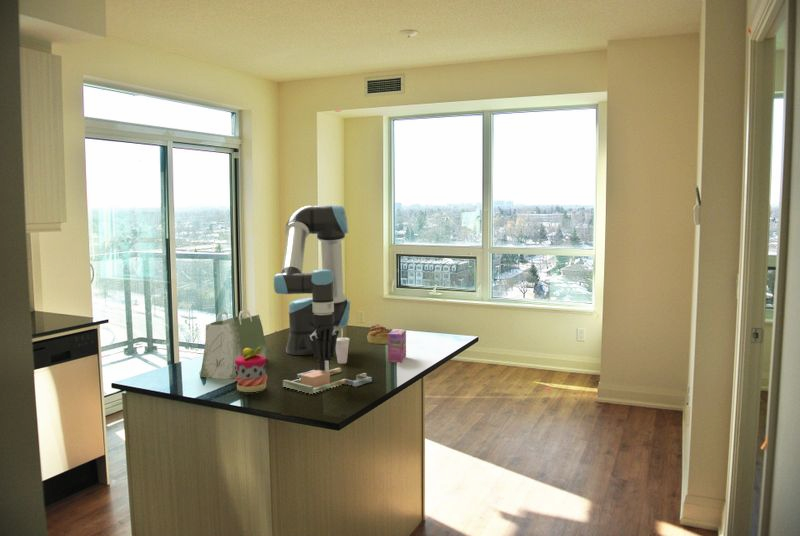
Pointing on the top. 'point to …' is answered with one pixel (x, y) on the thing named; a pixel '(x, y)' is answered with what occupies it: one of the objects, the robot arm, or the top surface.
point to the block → (315, 378)
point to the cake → (251, 371)
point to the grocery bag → (230, 344)
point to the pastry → (378, 334)
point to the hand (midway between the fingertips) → (325, 378)
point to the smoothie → (342, 348)
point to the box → (397, 345)
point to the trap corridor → (309, 389)
